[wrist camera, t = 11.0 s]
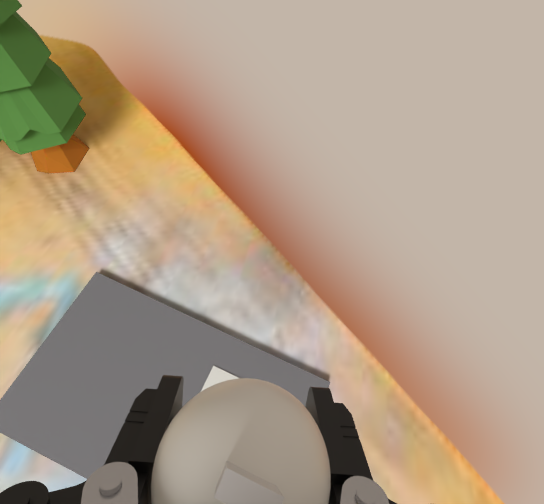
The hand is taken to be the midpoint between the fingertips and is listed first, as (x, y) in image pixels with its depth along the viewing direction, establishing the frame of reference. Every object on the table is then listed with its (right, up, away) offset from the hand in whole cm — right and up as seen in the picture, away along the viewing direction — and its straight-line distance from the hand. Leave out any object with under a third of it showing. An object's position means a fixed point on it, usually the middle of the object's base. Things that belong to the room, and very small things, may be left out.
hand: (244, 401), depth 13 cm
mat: (-8, -7, +16) cm, 19 cm away
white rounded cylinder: (-1, -4, +4) cm, 5 cm away
